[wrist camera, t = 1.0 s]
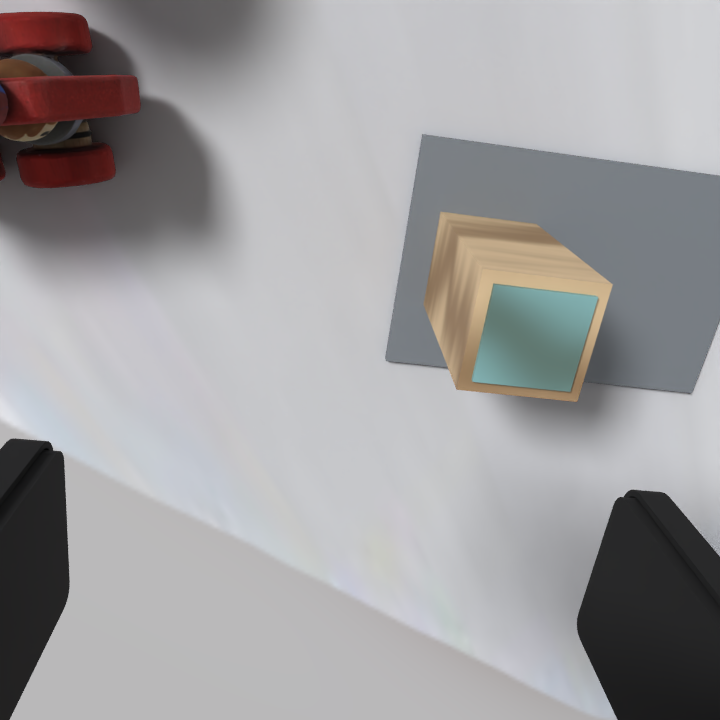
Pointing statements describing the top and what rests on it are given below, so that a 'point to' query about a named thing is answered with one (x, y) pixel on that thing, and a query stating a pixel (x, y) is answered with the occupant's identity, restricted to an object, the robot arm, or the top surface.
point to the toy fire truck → (56, 100)
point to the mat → (581, 250)
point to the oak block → (512, 308)
